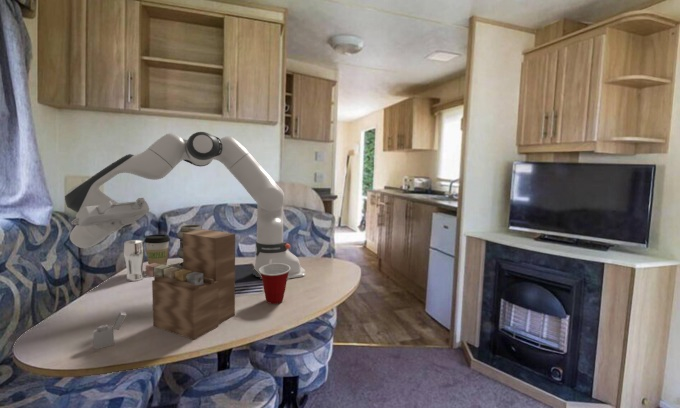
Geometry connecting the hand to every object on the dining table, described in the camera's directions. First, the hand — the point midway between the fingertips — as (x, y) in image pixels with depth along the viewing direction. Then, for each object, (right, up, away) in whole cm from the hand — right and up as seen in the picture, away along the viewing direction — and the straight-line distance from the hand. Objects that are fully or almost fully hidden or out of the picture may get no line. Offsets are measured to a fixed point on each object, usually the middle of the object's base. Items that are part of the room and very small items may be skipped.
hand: (128, 201), depth 107 cm
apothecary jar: (-4, -29, +55) cm, 62 cm away
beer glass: (-17, -31, +33) cm, 48 cm away
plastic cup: (+41, -35, +16) cm, 56 cm away
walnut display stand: (+22, -36, -1) cm, 42 cm away
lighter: (+5, -37, -16) cm, 41 cm away
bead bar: (+16, -23, -5) cm, 28 cm away
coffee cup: (-13, -30, +44) cm, 54 cm away
